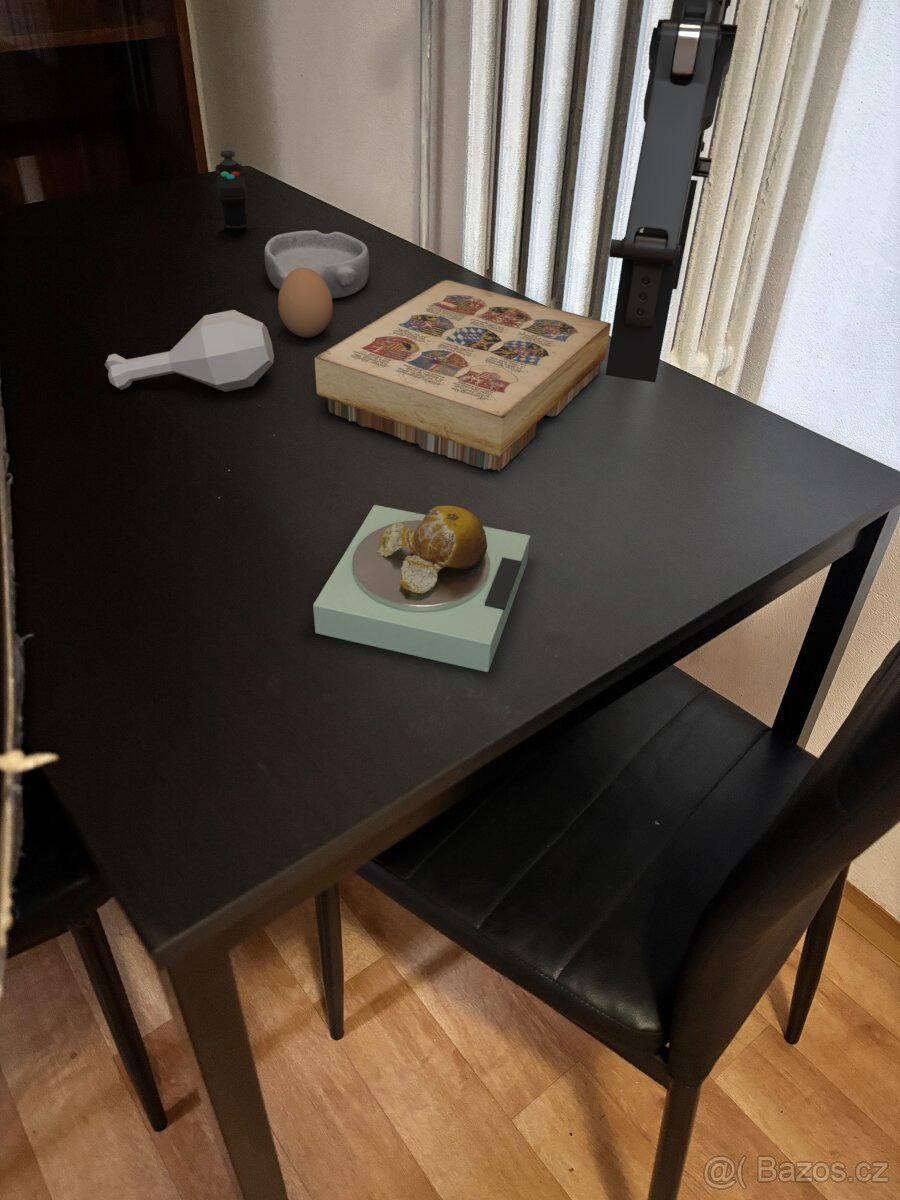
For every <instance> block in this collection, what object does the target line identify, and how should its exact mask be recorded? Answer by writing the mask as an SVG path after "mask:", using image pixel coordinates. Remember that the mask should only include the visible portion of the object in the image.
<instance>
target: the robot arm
mask: <svg viewBox="0 0 900 1200" xmlns="http://www.w3.org/2000/svg"><path fill="white" fill-rule="evenodd" d="M731 4H732V0H673V2H672V4H671V5H672V6H671V11H670V18H662V19H660V18H658V21H657V25H656V27H653V28H652V33H651V36H650V37H651V38H650V42H649V47H648V70H649V74H648V79H647V84H646V90H645V94H644V100H643V121H644V128H643V134H642V140H641V146H640V151H639V157H638V162H637V168H636V172H635V173H636V174H635V179H634V184H633V190H632V196H631V201H630V207H629V211H628V218H627V223H626V228H625V229H626V230H625V234H624V236H623V238H621V239H614V238H611V239H610V244H609V252H608V255H609V258H613V259H614V258H615V259H622V260H621V265H620V266H621V267H620V274H619V281H618V289H617V295H616V301H615V308H614V314H613V322H612V326H611V327H612V328H611V335H610V340H609V341H610V342H609V348H608V356H607V362H606V369H605V376H607V377H608V376H609V377H615V378H622V379H627V380H635V381H642V382H647V383H648V382H649V383H656V381H657V377H658V372H659V366H660V361H661V355H662V351H663V344H664V340H665V339H664V338H665V334H666V329H667V323H668V317H669V313H670V308H671V302H672V296H673V291H674V290H677V289H678V285H679V280H680V275H681V271H682V270H681V269H682V264H683V260H684V253H685V248H686V244H687V240H688V239H687V237H688V233H689V228H690V224H691V223H690V222H691V217H692V211H693V207H694V201H695V196H696V190H697V185H698V180H697V179H692V177H697V178H709V176H710V172H711V171H710V170H711V166H712V161H713V158H712V157H706V156H705V157H703V156H701V154H702V153H703V152H704V150H705V146H706V142H705V140H704V137H705V132H706V130H708V129H710V128H711V127H712V126H713V124H714V120H715V117H716V116H715V115H716V110H717V105H718V101H719V98H720V93H721V89H722V85H723V79H724V78H725V77H726V76H727V75H728V73H729V71H730V66H731V62H732V57H733V52H734V47H735V43H736V42H735V41H736V38H737V32H738V28H739V25H738V24H731V23H725V22H726V16H727V10H728V9H729V7H731ZM642 229H643V232H641V231H642Z"/></svg>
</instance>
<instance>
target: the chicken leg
mask: <svg viewBox="0 0 900 1200" xmlns="http://www.w3.org/2000/svg"><path fill="white" fill-rule="evenodd" d="M274 358H275V354H274V348H273V343H272V340H271V336H270V333H269V329H268V327H267V326H266V325H265V323H263V322H261V321H260V320H257V319H255V318H252V317H250V316H248V315H246V314H244V313H241V312H239V311H237V310H235V309H230V310H225V311H220V312H216V313H211V314H206V315H203V316H202V318H200V320H198V322H197V323H195V324H194V326H192V327H191V329H190V330H189V331H188V332H187V333H186V334H185V335H184V336H183V337H182V338H181V339H180V340H179V341H178V342H177V343H176V344H175V345H174V346H173V347H172V348H171V349H170V351H169V350H168V351H164V352H158V353H154V354H149V355H144V356H138V357H133V358H128V359H126V358H124V357H122V356H120V355H119V354H117V353H112V354H109V355H108V357H107V358H106V361H105V363H104V366H105V368H106V369H107V371H108V373H107V377H108V379H109V382H110V384H111V385H112V386H114V387H116V388H117V389H119V390H122V391H123V390H125V389H127V388H129V387H130V386H131V384H132V383H133V382H135V381H140V380H146V379H150V378H151V379H152V378H156V377H161V376H166V375H171V374H177V375H181V376H183V377H186V378H189V379H191V380H193V381H196V382H199V383H201V384H203V385H206V386H208V387H212V388H214V389H216V390H218V391H222V392H225V393H226V392H232V391H237V390H241V389H245V388H246V389H247V388H250V387H253V386H255V384H257V382H258V381H259V380H260V379H261V378H262V377H263V376H264V375H265V373H266V372H267V371H268V370H269V369H270V368H271V366H272V365H274Z"/></svg>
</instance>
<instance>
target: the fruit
mask: <svg viewBox="0 0 900 1200" xmlns="http://www.w3.org/2000/svg"><path fill="white" fill-rule="evenodd" d="M425 515H426V516H425V517H424V518H423V519H422V520H421V521H420V523H419V524H418V526H417V529H416V531H415V532H413V531H411V530H410V529H409V528H408V527H405V526H404V525H403V524H402V523H395V524H393V525H391V526H389V527H388V528H386V530H385V531H384V532H383V534H382V536H381V539H380V542H379V545H378V551H377V553H378V554H379V555H382V556H385V558H386V556H389V555H392V554H393V552H395V551H396V550H398V549H399V548H401V547H407V548H409V549H410V550H411V551H413V552H414V553H415V555H414V556H407V557H406V558H405V560H404V561H403V566H402V568H401V573H402V577H401V582H400V583H399V584H400V585H401V586H402V587H403V588H405V589H407V590H410V591H412V592H415V593H420V594H422V593H424V592H427V591H428V590H430V589H432V588H433V587H434V586H435V585H436V583H437V577H438V576H437V573H438V571H439V570H440V569H441V568H443V567H447V566H448V567H453V568H454V567H455V568H460V569H466V568H473V567H474V566H476V565H477V564H478V563H479V562H480V561H481V559H482V558H483V557H484V555H485V553H486V550H487V541H486V535H485V531H484V529H483V526H484V525H482V521H480V520H479V519H478V517H477V516H476V515H474V513H473V512H471V511H469V510H468V509H465V508H462V507H460V506H455V505H437V506H434V507H433V508H432V509H431V510H429V511H428V513H426V514H425Z"/></svg>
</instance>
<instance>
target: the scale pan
mask: <svg viewBox="0 0 900 1200" xmlns="http://www.w3.org/2000/svg"><path fill="white" fill-rule="evenodd" d="M420 521H421V520H413V521H404V522H398V523H402V524H403V525H404V526H405V527H408V528H409V529H410V530H411V531H413V532H415V531H416V529H417V526H418V524H419V523H420ZM394 524H395V523H394ZM391 525H393V524H390V525H387V526H384V527H382V528H380V529H378V530H376V531H374V532H372V533H371V534H369V535H368V536H367V537H365V538H364V539H363V540H362V541H361V542H360V544H359V545H358V547H357V548H356V550H355V552H354V555H353V562H352V566H353V574H354V577H355V580H356V581H357V583H358V585H359V586H360V587H361V588H362V590H363V591H364V592H365V593H367V594H368V595H369V596H370V597H372V598H373V599H375V600H377V601H379V602H381V603H383V604H385V605H388V606H390V607H394V608H398V609H402V610H408V611H437V610H443V609H447V608H451V607H454V606H457V605H459V604H462V603H464V602H466V601H468V600H469V599H471V598H472V597H474V596H475V595H476V594H477V593H478V592H479V591H480V590H481V589H482V588H483V587H484V585H485V584H486V582H487V580H488V576H489V571H490V560H489V556H488V553H487V551H486V553H485V555H484V557H483V558H482V559H481V561H480V562H479V563H478V564H477V565H476V566H474V567H473V568H466V569H460V568H455V567H454V568H453V567H448V566H447V567H443V568H441V569H440V570H439V571H438V573H437V576H438V577H437V583H436V585H435V586H434V587H433V588H432V589H430V590H428V591H427V592H424V593H422V594H420V593H415V592H412V591H410V590H407V589H405V588H403V587H402V586H401V585H400V584H399V583H400V582H401V577H402V573H401V568H402V566H403V561H404V560H405V558H406V557H407V556H414V555H415V553H414V552H413V551H411V550H410V549H409V548H407V547H401V548H399V549H398V550H396V551H395V552H393V554H392V555H389V556H386V558H385V556H382V555H379V554H378V553H377V551H378V545H379V542H380V539H381V536H382V534H383V532H384V531H385V530H386V528H388V527H389V526H391Z"/></svg>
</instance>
